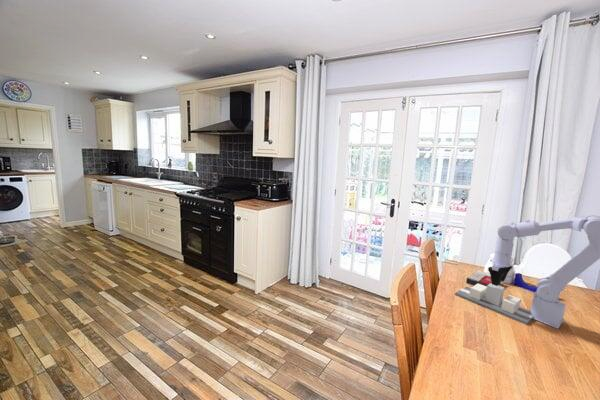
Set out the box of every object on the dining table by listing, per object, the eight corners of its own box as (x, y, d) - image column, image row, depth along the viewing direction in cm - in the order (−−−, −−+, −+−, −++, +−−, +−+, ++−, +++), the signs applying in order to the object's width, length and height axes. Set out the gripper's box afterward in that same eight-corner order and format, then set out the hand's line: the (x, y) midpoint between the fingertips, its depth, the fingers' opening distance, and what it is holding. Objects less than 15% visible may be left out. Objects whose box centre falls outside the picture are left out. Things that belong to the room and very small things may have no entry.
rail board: (535, 315, 109) (536, 312, 109) (526, 324, 102) (527, 322, 102) (466, 288, 129) (466, 285, 129) (454, 294, 122) (455, 292, 122)
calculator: (466, 276, 135) (477, 268, 144) (465, 284, 136) (476, 276, 145) (492, 285, 126) (502, 276, 136) (491, 293, 127) (500, 284, 137)
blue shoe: (547, 294, 128) (549, 282, 127) (542, 296, 126) (545, 284, 125) (517, 283, 138) (520, 272, 137) (513, 284, 136) (515, 273, 135)
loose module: (501, 302, 115) (504, 287, 114) (498, 306, 112) (500, 290, 111) (488, 297, 119) (491, 282, 118) (484, 300, 116) (487, 285, 115)
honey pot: (499, 284, 136) (505, 250, 133) (477, 273, 148) (483, 241, 146) (519, 283, 139) (526, 249, 136) (497, 272, 151) (502, 241, 148)
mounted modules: (519, 307, 111) (521, 299, 111) (513, 313, 107) (514, 304, 106) (476, 291, 124) (477, 283, 123) (469, 296, 119) (470, 287, 119)
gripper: (497, 246, 121) (492, 275, 123) (485, 252, 112) (480, 283, 114) (517, 251, 115) (511, 281, 117) (506, 258, 106) (500, 290, 109)
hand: (497, 282), depth 115 cm, fingers open, 7 cm apart
